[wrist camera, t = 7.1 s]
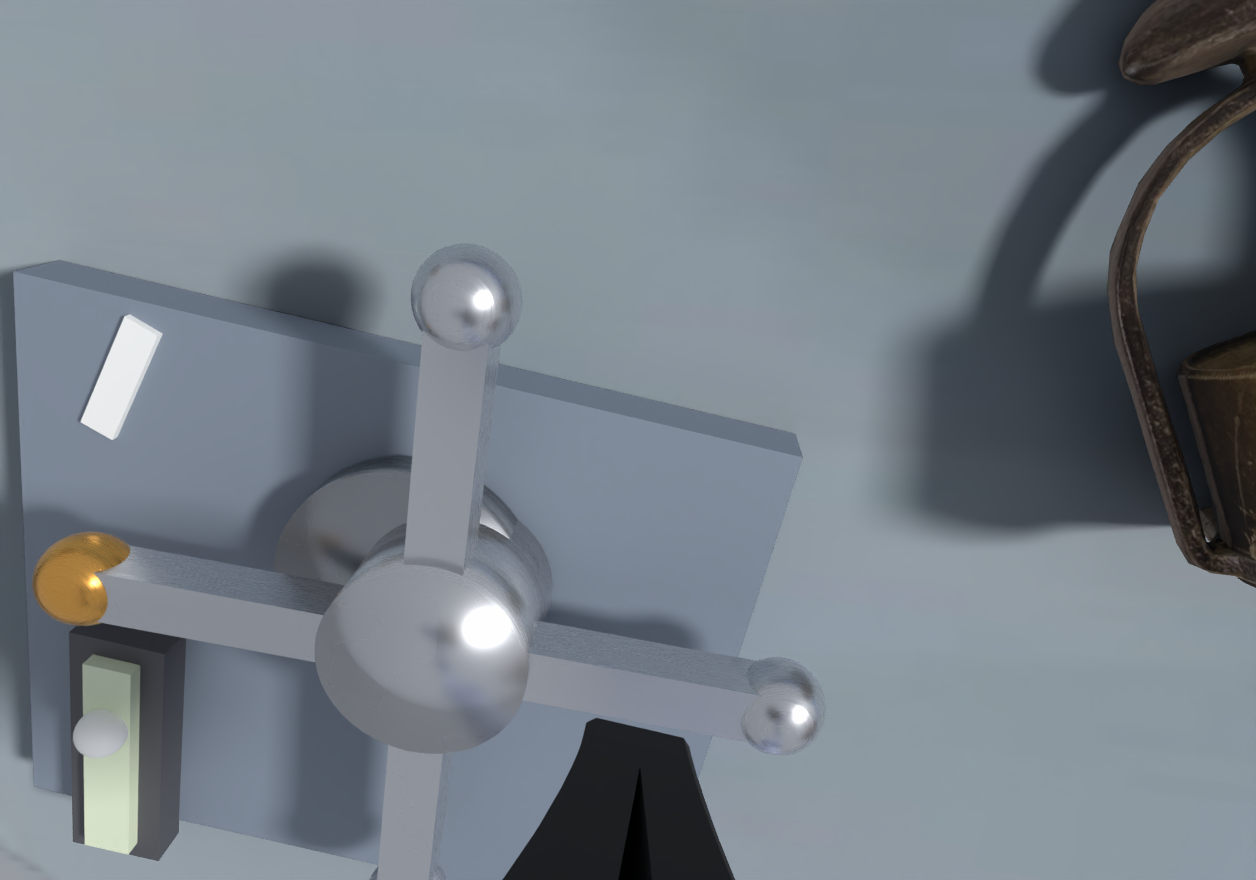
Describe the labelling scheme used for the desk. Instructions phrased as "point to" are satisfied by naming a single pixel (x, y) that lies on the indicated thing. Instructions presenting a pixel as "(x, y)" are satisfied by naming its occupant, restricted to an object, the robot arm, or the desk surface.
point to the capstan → (429, 594)
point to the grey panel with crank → (254, 520)
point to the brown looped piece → (1225, 372)
